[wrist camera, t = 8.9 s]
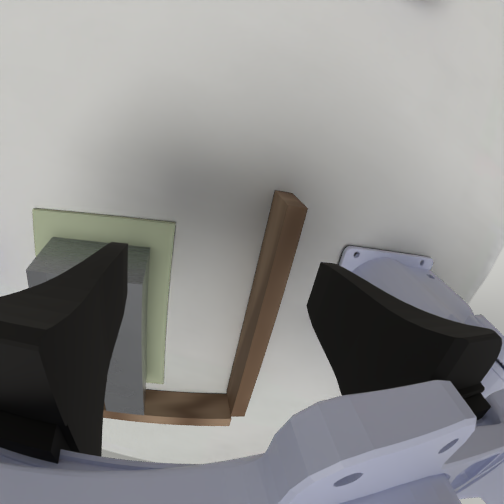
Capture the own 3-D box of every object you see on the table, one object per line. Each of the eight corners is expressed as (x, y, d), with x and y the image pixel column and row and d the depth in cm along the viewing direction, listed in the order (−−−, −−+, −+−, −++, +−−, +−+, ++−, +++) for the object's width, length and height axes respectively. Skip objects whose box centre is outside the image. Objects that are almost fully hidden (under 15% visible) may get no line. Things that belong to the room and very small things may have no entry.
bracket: (146, 373, 25) (144, 415, 21) (70, 363, 23) (58, 402, 20) (150, 247, 20) (142, 284, 16) (52, 236, 19) (26, 269, 15)
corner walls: (292, 193, 21) (307, 208, 18) (236, 401, 29) (240, 425, 27) (-12, 163, 15) (-35, 174, 13) (28, 378, 24) (20, 400, 21)
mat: (175, 222, 20) (175, 224, 20) (163, 381, 26) (163, 384, 26) (34, 208, 18) (32, 209, 17) (58, 367, 24) (57, 369, 24)
